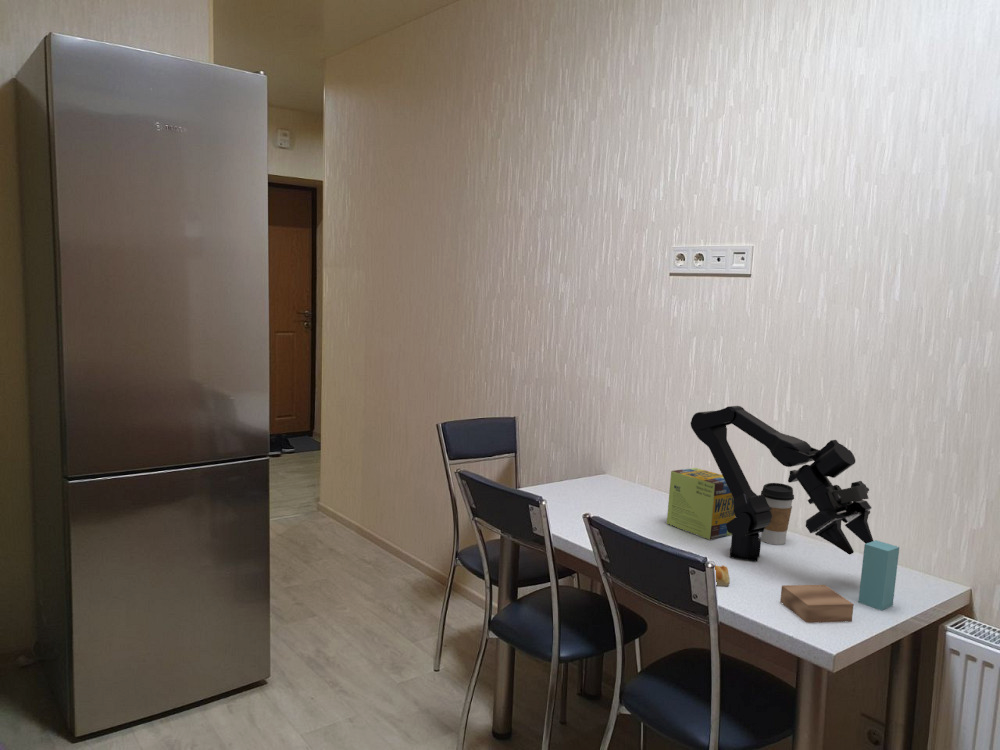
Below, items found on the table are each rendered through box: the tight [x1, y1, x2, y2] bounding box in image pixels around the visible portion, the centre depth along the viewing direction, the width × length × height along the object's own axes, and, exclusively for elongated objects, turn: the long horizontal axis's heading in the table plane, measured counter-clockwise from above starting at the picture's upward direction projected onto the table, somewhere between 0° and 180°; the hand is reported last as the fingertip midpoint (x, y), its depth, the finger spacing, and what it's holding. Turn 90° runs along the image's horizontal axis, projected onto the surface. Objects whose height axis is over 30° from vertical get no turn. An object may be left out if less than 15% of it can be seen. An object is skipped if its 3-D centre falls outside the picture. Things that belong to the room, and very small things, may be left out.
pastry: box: [714, 564, 731, 587], centre depth 171 cm, size 9×7×4 cm
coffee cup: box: [760, 482, 795, 546], centre depth 201 cm, size 8×8×15 cm
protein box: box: [666, 467, 735, 541], centre depth 208 cm, size 10×15×16 cm
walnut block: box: [779, 584, 854, 624], centre depth 157 cm, size 10×10×4 cm
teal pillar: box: [857, 539, 900, 611], centre depth 162 cm, size 5×5×13 cm
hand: (862, 549), depth 165 cm, fingers open, 9 cm apart
